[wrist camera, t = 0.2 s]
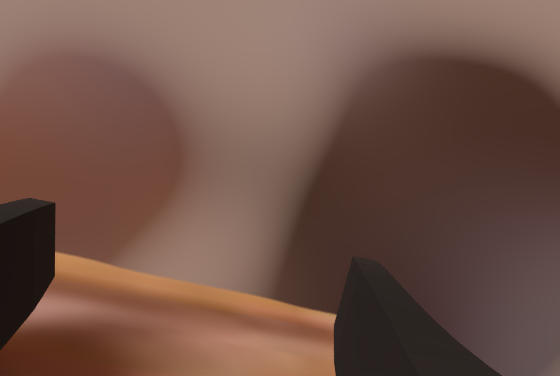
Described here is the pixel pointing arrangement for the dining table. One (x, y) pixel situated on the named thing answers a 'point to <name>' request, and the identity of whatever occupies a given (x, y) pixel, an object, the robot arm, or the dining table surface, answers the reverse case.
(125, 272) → the dining table surface
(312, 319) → the dining table surface
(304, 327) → the dining table surface
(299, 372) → the dining table surface
